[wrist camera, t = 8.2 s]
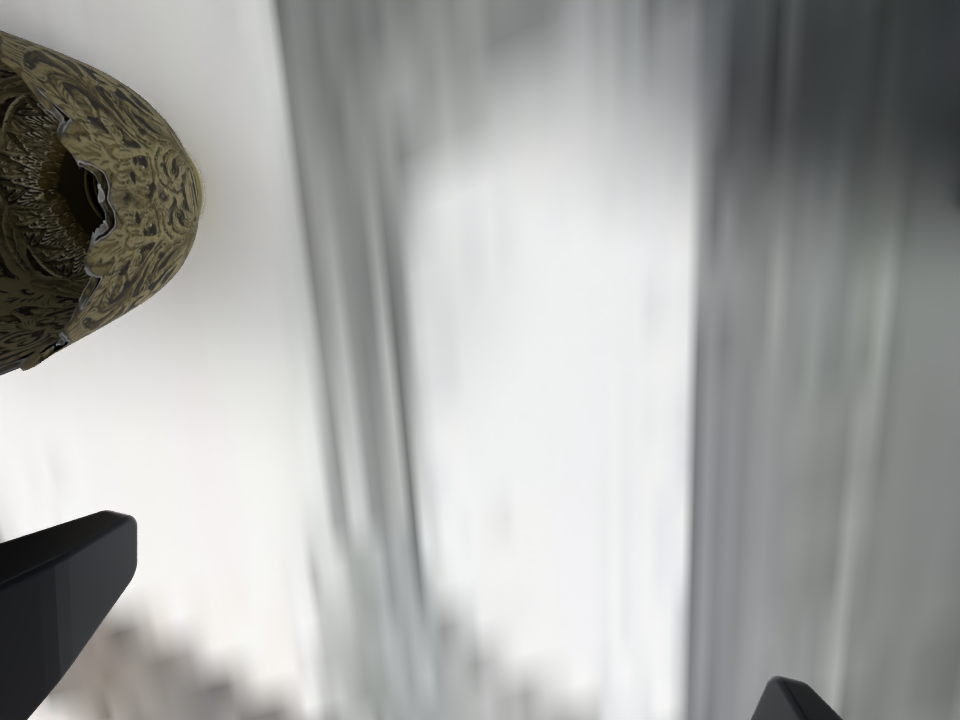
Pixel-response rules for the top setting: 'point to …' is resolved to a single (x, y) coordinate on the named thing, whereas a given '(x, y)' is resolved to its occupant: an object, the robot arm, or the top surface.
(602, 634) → the top surface
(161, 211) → the cup
